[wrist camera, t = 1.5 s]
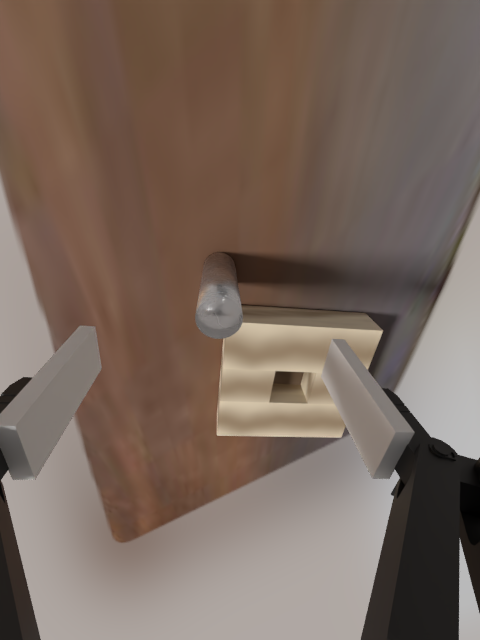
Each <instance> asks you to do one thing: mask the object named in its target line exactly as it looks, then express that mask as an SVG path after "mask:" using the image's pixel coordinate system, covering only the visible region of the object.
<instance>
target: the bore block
mask: <svg viewBox="0 0 480 640" xmlns="http://www.w3.org/2000/svg"><path fill="white" fill-rule="evenodd" d="M241 307H242V313H243V322H242V325H241V327H240V329H239V330H238V331H237V332H236V333H235V334H234V335H232V336H230V337H227V338H223V348H222V359H221V371H220V383H219V394H218V406H217V436H276V437H337V438H341V437H342V434H343V431H344V429H345V426H346V425H345V423H344V421H343V419H342V417H341V415H340V413H339V411H338V409H337V407H336V405H335V403H334V401H333V399H332V397H331V395H330V393H329V391H328V389H327V388H326V386H325V384H324V382H323V380H322V378H321V374H322V371H323V368H324V364H325V361H326V357H327V354H328V350H329V347H330V344H331V340H332V339H344V340H345V341H346V342H347V343H348V345H349V346H350V347H351V349H352V350H353V351H354V353H355V354H356V355H357V357H358V358H359V359H360V361H361V362H362V363H363V365H364V366H365V367H366V369H367V370H368V368H369V366H370V363H371V361H372V358H373V356H374V353H375V350H376V348H377V345H378V343H379V340H380V338H381V335H382V333H383V330H382V329H381V328H380V327H379V326H378V325H377V324H376V323H375V322H374V321H373V320H372V319H371V318H370V317H369V316H368V315H367V314H366V313H356V312H341V311H326V310H310V309H295V308H279V307H264V306H249V305H241Z"/></svg>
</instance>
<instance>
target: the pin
mask: <svg viewBox="0 0 480 640" xmlns="http://www.w3.org/2000/svg"><path fill="white" fill-rule="evenodd" d="M195 319H196V324H197V326H198V328H199V329H200V331H201V332H202V333H204V334H205V335H207V336H209V337H211V338H216V339H223V338H227V337H230V336H232V335H234V334H235V333H236V332H237V331H238V330H239V329H240V327H241V325H242V322H243V313H242V307H241V300H240V294H239V288H238V281H237V275H236V268H235V263H234V261H233V259H232V258H231V257H230V256H229V255H227V254H226V253H222V252H216V253H213V254H211V255H210V256H208V257H207V259H206V260H205V262H204V267H203V273H202V279H201V285H200V291H199V297H198V303H197V310H196V316H195Z"/></svg>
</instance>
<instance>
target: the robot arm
mask: <svg viewBox="0 0 480 640" xmlns="http://www.w3.org/2000/svg"><path fill="white" fill-rule="evenodd" d="M101 369H102V367H101V361H100V354H99V348H98V341H97V335H96V328H95V326H79V327H78V328H77V330H76V331H75V332H74V333H73V334H72V335H71V336H70V337H69V338H68V339H67V341H66V342H65V343H64V344H63V345H62V346H61V347H60V348H59V349H58V351H57V352H56V353H55V354H54V355H53V356H52V357H51V358H50V360H49V361H48V362H47V363H46V364H45V365H44V366H43V367H42V368H41V369H40V370H39V371H38V373H37V374H36V375H35V376H34V377H33V378H28V377H23V378H21V379H20V380H18V381H16V382H15V383H13V384H11V385H10V386H9V387H8V388H7V389H6V390H5V391H4V392H3V393H2V394H1V396H0V640H41V639H40V635H39V631H38V627H37V623H36V619H35V615H34V610H33V606H32V602H31V598H30V594H29V590H28V586H27V582H26V578H25V573H24V569H23V565H22V561H21V557H20V553H19V549H18V545H17V541H16V537H15V533H14V528H13V524H12V520H11V516H10V512H9V508H8V504H7V500H6V496H5V491H4V487H3V484H2V482H1V479H2V478H3V476H4V475H5V473H6V472H7V471H8V470H9V473H10V475H11V477H12V479H13V480H35V479H36V477H37V476H38V474H39V472H40V471H41V469H42V467H43V466H44V464H45V462H46V460H47V459H48V457H49V456H50V454H51V452H52V450H53V449H54V447H55V446H56V444H57V442H58V441H59V439H60V437H61V435H62V434H63V432H64V430H65V429H66V427H67V426H68V424H69V422H70V421H71V419H72V417H73V416H74V414H75V412H76V410H77V409H78V407H79V405H80V404H81V402H82V400H83V399H84V397H85V395H86V394H87V392H88V390H89V389H90V387H91V385H92V384H93V382H94V380H95V379H96V377H97V375H98V374H99V372H100V370H101ZM321 378H322V380H323V382H324V384H325V386H326V388H327V389H328V391H329V393H330V395H331V397H332V399H333V401H334V403H335V405H336V407H337V409H338V411H339V413H340V415H341V417H342V419H343V421H344V423H345V425H346V427H347V429H348V431H349V433H350V435H351V437H352V439H353V441H354V443H355V445H356V447H357V449H358V451H359V453H360V455H361V457H362V459H363V461H364V463H365V465H366V467H367V469H368V471H369V473H370V475H371V477H372V478H373V479H378V478H379V479H383V478H384V479H389V478H390V477H391V475H392V473H393V471H394V469H395V470H396V472H397V473H398V475H399V476H400V479H399V481H398V482H397V484H396V486H395V488H394V489H393V491H392V493H391V495H393V496H394V499H393V503H392V508H391V512H390V516H389V520H388V525H387V529H386V534H385V537H384V542H383V546H382V550H381V555H380V559H379V563H378V568H377V572H376V576H375V580H374V585H373V589H372V593H371V598H370V602H369V607H368V611H367V615H366V620H365V624H364V628H363V632H362V636H361V640H459V538H460V540H461V544H462V547H463V552H464V555H465V559H466V563H467V567H468V570H469V574H470V578H471V582H472V586H473V589H474V593H475V597H476V601H477V604H478V608H479V612H480V458H479V459H478V460H475V459H471V458H467V457H464V456H460V455H457V453H456V452H455V450H454V449H452V448H451V447H450V446H449V445H448V444H446V443H444V442H443V441H441V440H438V439H436V438H431V437H430V436H429V434H428V433H427V432H426V431H425V429H424V428H423V427H422V426H421V424H420V423H419V422H418V421H417V419H416V418H415V417H414V416H413V415H412V413H410V411H409V410H408V408H407V407H406V406H404V403H403V402H402V401H401V400H400V398H399V397H398V396H397V395H396V394H394V393H393V392H392V391H390V390H389V389H385V388H381V387H380V386H379V384H378V383H377V382H376V380H375V379H374V378H373V377H372V375H371V374H370V373H369V371H368V370H367V369H366V367H365V366H364V365H363V363H362V362H361V361H360V359H359V358H358V357H357V355H356V354H355V353H354V351H353V350H352V349H351V347H350V346H349V345H348V343H347V342H346V341H345V340H344V339H332V340H331V344H330V347H329V350H328V354H327V357H326V361H325V364H324V368H323V371H322V374H321Z"/></svg>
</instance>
